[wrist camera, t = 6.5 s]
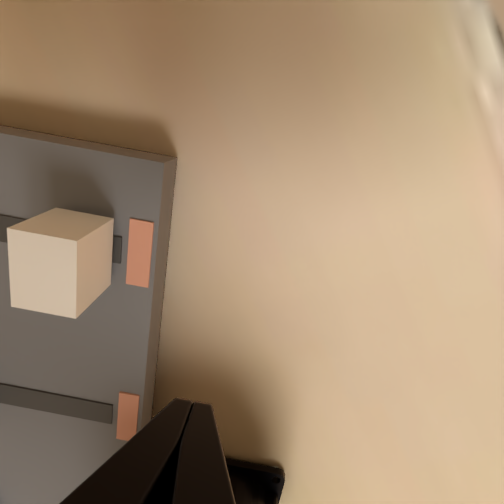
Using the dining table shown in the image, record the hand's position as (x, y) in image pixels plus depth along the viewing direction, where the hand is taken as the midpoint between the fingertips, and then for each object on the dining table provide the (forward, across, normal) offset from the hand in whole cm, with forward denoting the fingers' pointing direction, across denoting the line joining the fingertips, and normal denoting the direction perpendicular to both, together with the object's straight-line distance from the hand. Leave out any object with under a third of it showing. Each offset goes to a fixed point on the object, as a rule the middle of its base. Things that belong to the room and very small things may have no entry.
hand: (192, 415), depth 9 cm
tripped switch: (+8, +6, 0) cm, 10 cm away
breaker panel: (+10, +10, +8) cm, 16 cm away
